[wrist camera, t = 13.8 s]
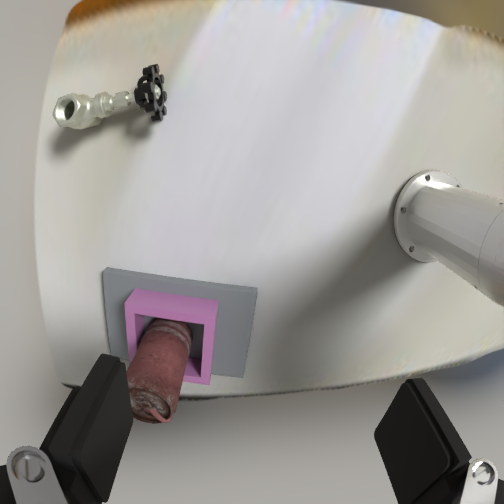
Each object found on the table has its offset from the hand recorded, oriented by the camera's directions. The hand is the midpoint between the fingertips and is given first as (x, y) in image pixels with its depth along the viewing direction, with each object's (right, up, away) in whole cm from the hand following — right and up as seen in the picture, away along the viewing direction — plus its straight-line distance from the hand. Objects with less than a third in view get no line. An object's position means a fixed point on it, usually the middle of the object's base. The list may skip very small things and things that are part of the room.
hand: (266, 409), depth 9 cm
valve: (-16, +22, +22) cm, 35 cm away
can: (-11, -6, +30) cm, 33 cm away
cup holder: (-11, -5, +31) cm, 33 cm away
